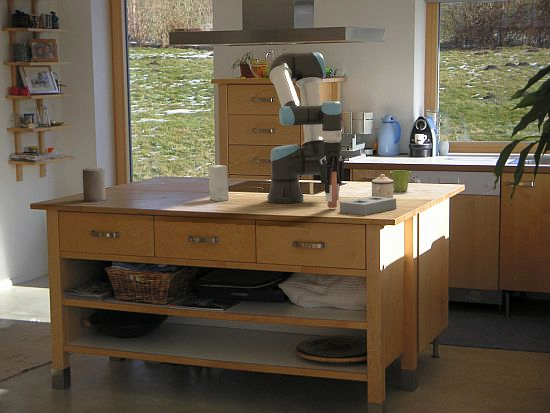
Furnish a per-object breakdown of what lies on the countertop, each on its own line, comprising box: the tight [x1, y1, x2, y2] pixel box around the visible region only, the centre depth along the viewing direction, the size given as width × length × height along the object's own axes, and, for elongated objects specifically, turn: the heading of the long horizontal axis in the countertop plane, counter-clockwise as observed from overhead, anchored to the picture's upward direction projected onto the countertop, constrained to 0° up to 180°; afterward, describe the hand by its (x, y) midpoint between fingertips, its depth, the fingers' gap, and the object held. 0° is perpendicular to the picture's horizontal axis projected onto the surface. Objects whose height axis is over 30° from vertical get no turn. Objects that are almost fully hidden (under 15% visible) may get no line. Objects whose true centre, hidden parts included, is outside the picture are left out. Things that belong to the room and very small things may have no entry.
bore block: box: [339, 195, 397, 216], centre depth 369 cm, size 12×20×4 cm, turn 136°
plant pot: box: [389, 169, 412, 193], centre depth 423 cm, size 9×9×9 cm
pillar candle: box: [82, 166, 107, 202], centre depth 414 cm, size 10×10×15 cm
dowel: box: [327, 171, 338, 209], centre depth 373 cm, size 4×4×14 cm
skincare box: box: [207, 164, 230, 202], centre depth 406 cm, size 8×6×15 cm
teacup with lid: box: [371, 173, 394, 198], centre depth 387 cm, size 12×9×12 cm
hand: (332, 200), depth 373 cm, fingers closed on dowel, 3 cm apart
